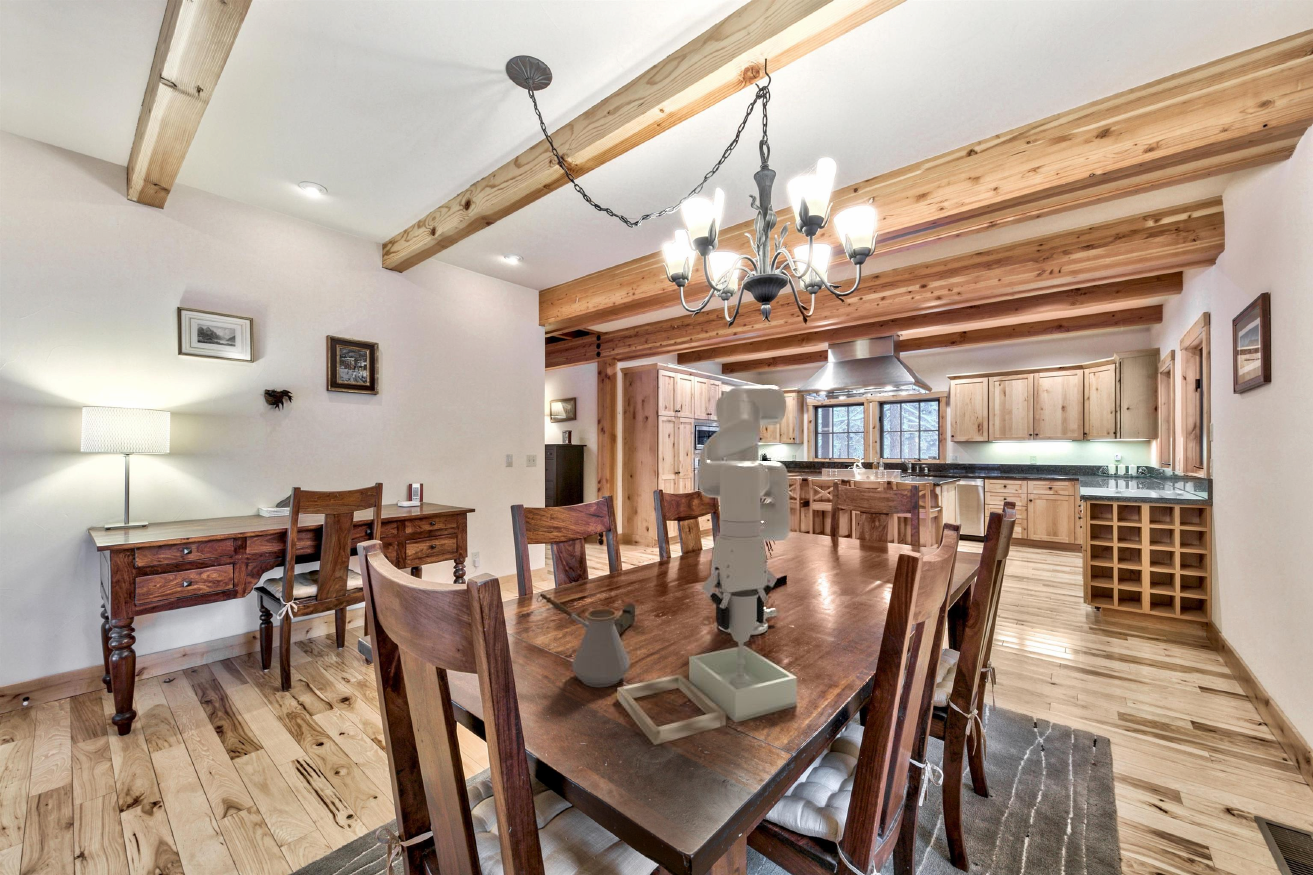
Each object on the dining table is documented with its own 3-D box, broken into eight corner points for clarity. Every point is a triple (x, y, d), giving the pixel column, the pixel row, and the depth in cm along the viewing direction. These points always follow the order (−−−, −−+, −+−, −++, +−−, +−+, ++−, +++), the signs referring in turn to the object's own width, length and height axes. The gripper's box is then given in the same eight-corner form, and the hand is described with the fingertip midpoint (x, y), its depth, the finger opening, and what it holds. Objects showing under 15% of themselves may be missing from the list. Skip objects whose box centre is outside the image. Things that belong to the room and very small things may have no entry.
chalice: (750, 701, 91) (750, 598, 92) (715, 691, 95) (716, 593, 96) (765, 685, 98) (765, 589, 98) (731, 676, 101) (732, 584, 102)
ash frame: (680, 684, 100) (680, 674, 100) (725, 725, 85) (725, 713, 85) (617, 698, 94) (617, 687, 94) (654, 744, 80) (654, 731, 80)
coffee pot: (640, 672, 105) (640, 598, 105) (611, 697, 95) (611, 615, 95) (555, 653, 115) (555, 586, 115) (520, 674, 104) (520, 600, 104)
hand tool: (614, 646, 119) (614, 626, 119) (598, 644, 120) (598, 624, 120) (644, 620, 137) (644, 603, 137) (630, 619, 138) (630, 601, 138)
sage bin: (744, 669, 106) (744, 645, 106) (796, 705, 92) (796, 677, 92) (689, 682, 101) (689, 656, 101) (735, 722, 86) (735, 692, 86)
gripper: (765, 523, 104) (765, 611, 103) (689, 529, 96) (689, 624, 96) (790, 528, 97) (790, 623, 97) (710, 535, 89) (710, 638, 89)
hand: (740, 623), depth 96 cm, fingers open, 7 cm apart
